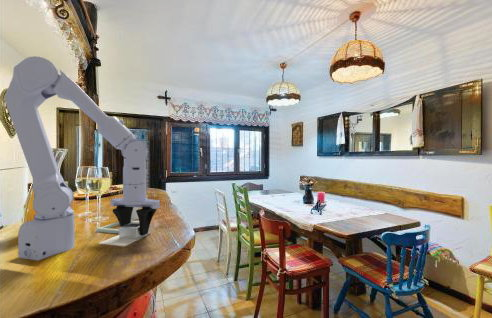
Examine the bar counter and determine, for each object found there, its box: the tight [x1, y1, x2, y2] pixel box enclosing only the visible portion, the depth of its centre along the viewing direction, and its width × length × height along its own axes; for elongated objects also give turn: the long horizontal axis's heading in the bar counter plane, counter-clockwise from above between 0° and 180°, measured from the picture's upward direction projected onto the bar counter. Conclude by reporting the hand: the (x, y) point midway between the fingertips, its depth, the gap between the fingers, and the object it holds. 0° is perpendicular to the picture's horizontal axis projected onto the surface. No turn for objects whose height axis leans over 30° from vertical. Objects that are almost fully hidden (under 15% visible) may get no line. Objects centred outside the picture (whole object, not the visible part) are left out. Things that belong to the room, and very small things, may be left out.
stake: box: [131, 223, 140, 227], centre depth 63 cm, size 2×2×3 cm
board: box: [98, 234, 148, 247], centre depth 61 cm, size 8×8×1 cm
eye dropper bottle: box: [131, 207, 140, 221], centre depth 81 cm, size 4×6×12 cm
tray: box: [96, 220, 139, 235], centre depth 71 cm, size 10×10×2 cm
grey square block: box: [118, 222, 151, 241], centre depth 63 cm, size 5×5×3 cm
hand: (135, 233), depth 63 cm, fingers closed on grey square block, 5 cm apart
